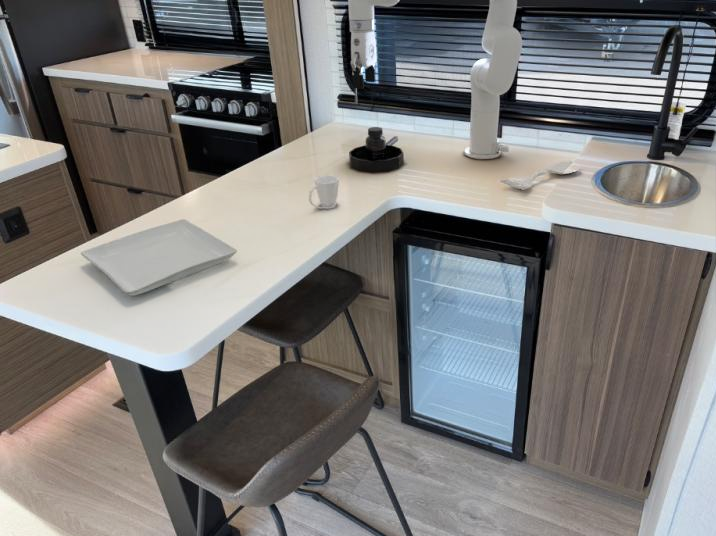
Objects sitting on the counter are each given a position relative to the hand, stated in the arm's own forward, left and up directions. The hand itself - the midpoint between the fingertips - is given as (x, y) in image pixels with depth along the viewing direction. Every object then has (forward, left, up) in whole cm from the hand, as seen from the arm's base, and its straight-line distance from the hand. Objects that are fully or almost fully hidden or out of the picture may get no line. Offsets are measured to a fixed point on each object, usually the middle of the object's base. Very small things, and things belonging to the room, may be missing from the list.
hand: (364, 85), depth 189 cm
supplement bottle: (-1, -4, -27) cm, 27 cm away
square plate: (+21, +80, -27) cm, 87 cm away
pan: (-1, -9, -27) cm, 28 cm away
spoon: (-58, -5, -27) cm, 64 cm away
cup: (-1, +36, -27) cm, 45 cm away
